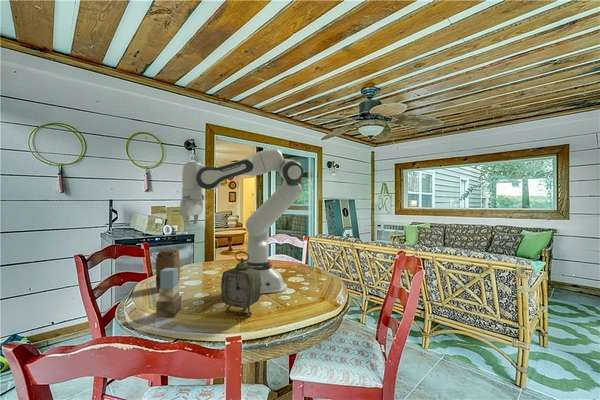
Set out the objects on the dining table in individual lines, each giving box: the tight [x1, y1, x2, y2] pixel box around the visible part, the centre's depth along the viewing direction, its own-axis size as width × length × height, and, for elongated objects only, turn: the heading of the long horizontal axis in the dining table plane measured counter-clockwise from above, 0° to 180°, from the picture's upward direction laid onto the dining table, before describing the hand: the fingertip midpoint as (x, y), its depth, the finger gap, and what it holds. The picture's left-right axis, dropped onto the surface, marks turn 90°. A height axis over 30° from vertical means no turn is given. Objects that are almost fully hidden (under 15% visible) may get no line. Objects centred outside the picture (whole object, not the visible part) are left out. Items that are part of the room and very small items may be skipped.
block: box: [155, 248, 181, 289], centre depth 147 cm, size 11×8×20 cm
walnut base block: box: [155, 295, 182, 318], centre depth 114 cm, size 7×7×6 cm
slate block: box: [159, 268, 179, 289], centre depth 114 cm, size 5×5×7 cm
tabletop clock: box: [220, 250, 262, 317], centre depth 116 cm, size 14×9×25 cm, turn 66°
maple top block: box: [158, 284, 180, 302], centre depth 114 cm, size 6×6×5 cm
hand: (191, 224), depth 135 cm, fingers open, 8 cm apart
